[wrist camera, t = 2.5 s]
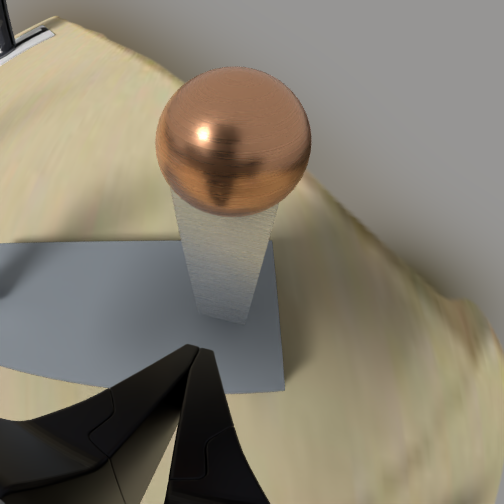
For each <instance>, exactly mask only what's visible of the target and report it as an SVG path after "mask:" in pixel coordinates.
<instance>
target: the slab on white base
mask: <svg viewBox="0 0 504 504" xmlns="http://www.w3.org/2000/svg"><path fill="white" fill-rule="evenodd" d="M53 36H55V34H54V33H52V32H51V31H50V30H49V29H47V28H46V27H45V26H44V25H41V26H39V27H37V28H35V29H33V30H31V31H29V32H27V33H25V34H24V35H22V36H20V37H18V38H16V39H15V38H14V35H13V31H12V27H11V22H10V19H9V14H8V10H7V4H6V0H0V66H1V65H3V64H4V63H6V62H8V61H9V60H11V59H12V58H14V57H16V56H17V55H19V54H21V53H23V52H24V51H26V50H28V49H30V48H32V47H33V46H35V45H37V44H39V43H41V42H43V41H45V40H47V39H49V38H51V37H53Z"/></svg>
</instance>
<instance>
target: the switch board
mask: <svg viewBox="0 0 504 504" xmlns="http://www.w3.org/2000/svg"><path fill="white" fill-rule="evenodd" d="M185 344H191V345H195V346H198V347H199V348H206V349H210V350H213V351H214V354H215V358H216V362H217V366H218V370H219V374H220V377H221V381H222V385H223V389H224V392H225V394H244V393H263V392H277V391H284V390H285V382H284V369H283V356H282V344H281V332H280V320H279V308H278V297H277V286H276V275H275V265H274V254H273V244H272V241H268V245H267V248H266V252H265V256H264V259H263V263H262V266H261V270H260V273H259V277H258V280H257V284H256V288H255V291H254V295H253V298H252V302H251V305H250V309H249V312H248V316H247V319H246V323H245V325H243V324H239V323H234V322H230V321H226V320H222V319H218V318H214V317H210V316H206V315H202V314H199V312H198V308H197V304H196V300H195V296H194V292H193V288H192V284H191V280H190V276H189V272H188V268H187V264H186V259H185V255H184V251H183V246H182V242H181V241H96V242H41V243H1V244H0V366H3V367H6V368H10V369H13V370H17V371H21V372H25V373H29V374H33V375H37V376H42V377H46V378H51V379H56V380H61V381H66V382H72V383H78V384H84V385H90V386H97V387H105V388H110V387H112V386H114V385H115V384H117V383H119V382H121V381H123V380H125V379H126V378H128V377H130V376H132V375H133V374H135V373H137V372H139V371H141V370H142V369H144V368H146V367H148V366H149V365H151V364H153V363H155V362H156V361H158V360H160V359H161V358H163V357H165V356H167V355H168V354H170V353H172V352H173V351H175V350H177V349H178V348H180V347H182V346H184V345H185Z"/></svg>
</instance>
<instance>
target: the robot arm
mask: <svg viewBox="0 0 504 504" xmlns="http://www.w3.org/2000/svg"><path fill="white" fill-rule="evenodd" d="M177 425H178V428H177V433H176V439H175V445H174V450H173V456H172V462H171V467H170V473H169V482H168V486H167V491H166V497H165V501H164V504H270V502H269V501H268V499H267V497H266V495H265V494H264V492H263V490H262V488H261V486H260V485H259V483H258V481H257V479H256V477H255V475H254V474H253V472H252V470H251V468H250V466H249V464H248V462H247V460H246V457H245V455H244V453H243V451H242V448H241V445H240V443H239V440H238V437H237V434H236V430H235V427H234V424H233V421H232V417H231V414H230V410H229V407H228V403H227V400H226V396H225V392H224V389H223V385H222V381H221V377H220V374H219V370H218V366H217V362H216V358H215V354H214V351H213V350H210V349H206V348H199V347H198V346H195V345H191V344H185V345H184V346H182V347H180V348H178V349H177V350H175V351H173V352H172V353H170V354H168V355H167V356H165V357H163V358H161V359H160V360H158V361H156V362H155V363H153V364H151V365H149V366H148V367H146V368H144V369H142V370H141V371H139V372H137V373H135V374H133V375H132V376H130V377H128V378H126V379H125V380H123V381H121V382H119V383H117V384H115V385H114V386H112V387H110V389H109V388H108V389H106V390H104V391H102V392H101V393H99V394H97V395H95V396H93V397H91V398H89V399H87V400H84V401H82V402H79V403H77V404H75V405H72V406H70V407H67V408H64V409H61V410H58V411H56V412H53V413H50V414H47V415H44V416H41V417H38V418H35V419H32V420H27V421H11V420H6V419H2V418H0V504H140V502H141V500H142V498H143V496H144V494H145V492H146V490H147V488H148V486H149V484H150V481H151V479H152V477H153V475H154V473H155V471H156V469H157V467H158V465H159V463H160V461H161V459H162V457H163V454H164V452H165V450H166V448H167V446H168V444H169V442H170V440H171V438H172V436H173V434H174V431H175V429H176V427H177Z"/></svg>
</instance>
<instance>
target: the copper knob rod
mask: <svg viewBox="0 0 504 504" xmlns="http://www.w3.org/2000/svg"><path fill="white" fill-rule="evenodd" d="M155 142H156V155H157V159H158V163H159V166H160V170H161V172H162V174H163V176H164V178H165V180H166V181H167V183H168V184H169V186H170V188H171V194H172V199H173V204H174V209H175V214H176V219H177V223H178V228H179V233H180V237H181V242H182V246H183V251H184V255H185V259H186V264H187V268H188V272H189V276H190V280H191V284H192V288H193V292H194V296H195V300H196V304H197V308H198V312H199V314H202V315H206V316H210V317H214V318H218V319H222V320H226V321H230V322H234V323H239V324H243V325H245V323H246V319H247V316H248V312H249V309H250V305H251V302H252V298H253V295H254V291H255V288H256V284H257V280H258V277H259V273H260V270H261V266H262V263H263V259H264V256H265V252H266V248H267V245H268V241H269V238H270V234H271V230H272V227H273V223H274V219H275V216H276V212H277V208H278V205H279V202H280V201H282V200H283V199H284V198H285V197H286V196H287V195H289V194H290V193H291V191H292V190H293V189H294V188H295V187H296V185H297V184H298V182H299V181H300V180H301V178H302V176H303V174H304V172H305V170H306V167H307V165H308V161H309V157H310V153H311V129H310V124H309V121H308V117H307V115H306V112H305V110H304V108H303V106H302V104H301V103H300V101H299V100H298V98H297V97H296V96H295V94H294V93H293V92H292V91H291V90H290V89H289V88H288V87H287V86H286V85H284V84H283V83H282V82H281V81H280V80H278V79H276V78H275V77H273V76H271V75H269V74H267V73H265V72H262V71H259V70H255V69H252V68H246V67H224V68H223V67H222V68H217V69H213V70H209V71H207V72H205V73H202V74H200V75H197V76H196V77H194V78H192V79H191V80H189V81H188V82H186V83H185V84H184V85H182V86H181V87H180V88H179V89H178V90H177V91H176V92H175V93H174V94H173V96H172V97H171V98H170V100H169V101H168V103H167V104H166V106H165V108H164V110H163V112H162V114H161V116H160V119H159V122H158V126H157V131H156V141H155Z"/></svg>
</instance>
